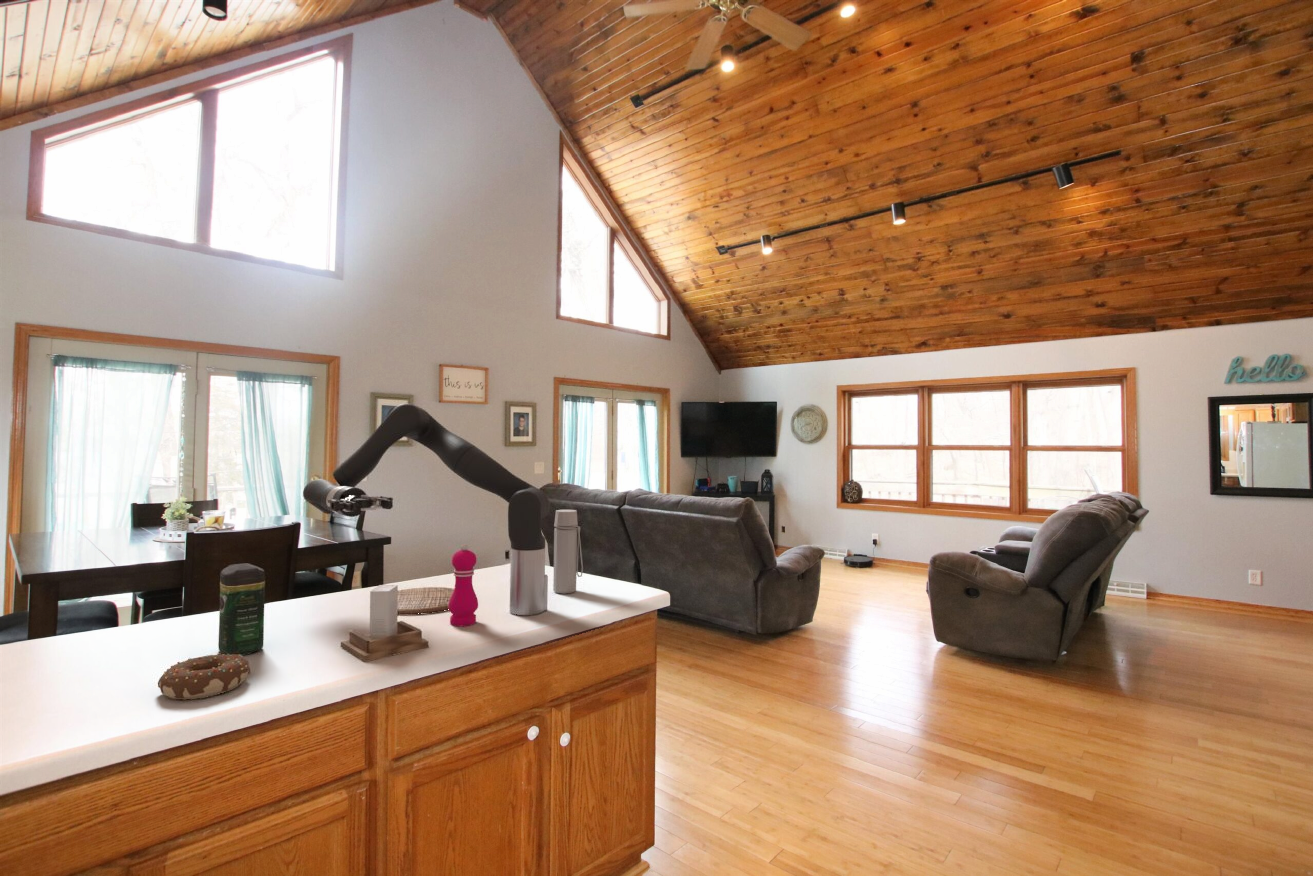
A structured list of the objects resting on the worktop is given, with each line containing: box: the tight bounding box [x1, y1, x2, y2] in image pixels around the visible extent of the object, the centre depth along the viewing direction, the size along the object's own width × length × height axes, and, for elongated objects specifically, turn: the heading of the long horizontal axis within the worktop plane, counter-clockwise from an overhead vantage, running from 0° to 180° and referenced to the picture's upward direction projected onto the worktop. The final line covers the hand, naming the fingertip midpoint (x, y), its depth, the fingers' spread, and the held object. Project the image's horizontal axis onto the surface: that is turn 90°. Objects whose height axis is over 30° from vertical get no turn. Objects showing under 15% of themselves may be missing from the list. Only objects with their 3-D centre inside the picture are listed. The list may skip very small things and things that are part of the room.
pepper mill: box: [448, 543, 479, 627], centre depth 160 cm, size 7×7×20 cm
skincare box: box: [369, 584, 399, 640], centre depth 141 cm, size 6×4×12 cm
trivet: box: [397, 586, 455, 615], centre depth 179 cm, size 25×25×2 cm
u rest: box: [340, 620, 429, 663], centre depth 141 cm, size 14×13×4 cm
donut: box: [157, 653, 251, 701], centre depth 117 cm, size 14×14×5 cm
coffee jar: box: [217, 562, 266, 656], centre depth 137 cm, size 10×8×19 cm
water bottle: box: [552, 509, 584, 595], centre depth 195 cm, size 9×8×25 cm
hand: (372, 506), depth 153 cm, fingers open, 8 cm apart
